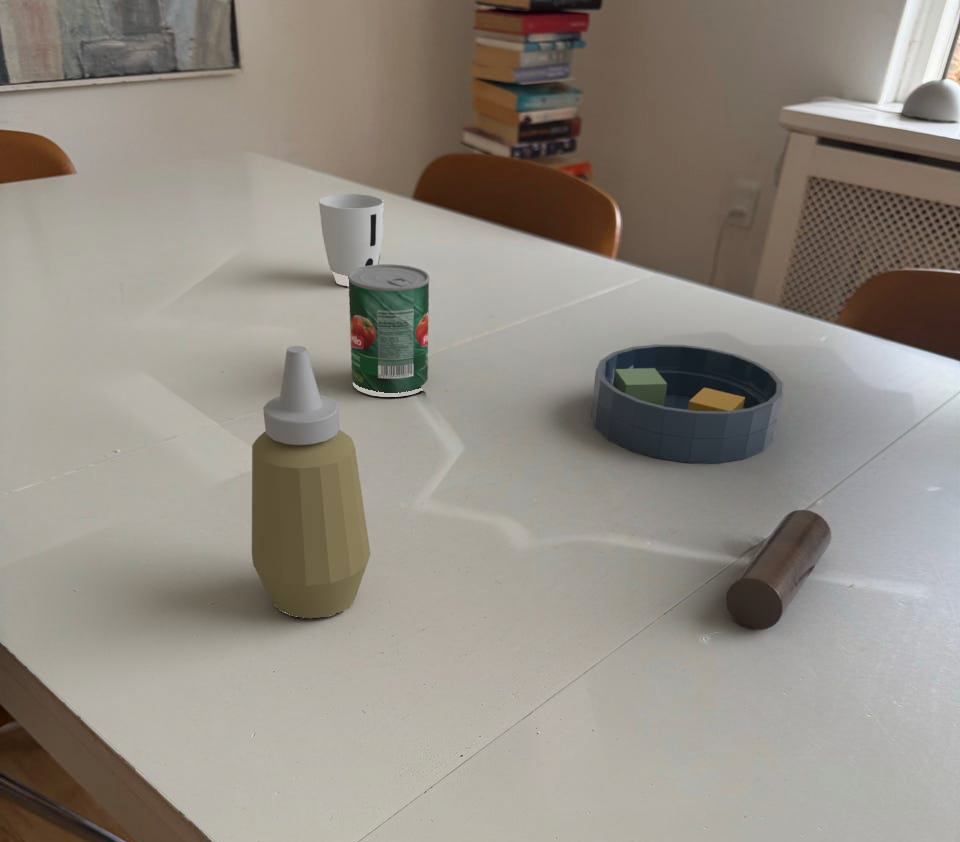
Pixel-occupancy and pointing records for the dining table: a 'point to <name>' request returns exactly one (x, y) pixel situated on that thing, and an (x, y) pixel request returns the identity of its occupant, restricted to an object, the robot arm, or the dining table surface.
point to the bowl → (673, 424)
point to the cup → (351, 230)
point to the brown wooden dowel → (778, 570)
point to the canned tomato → (389, 327)
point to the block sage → (641, 384)
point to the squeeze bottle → (307, 500)
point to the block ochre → (715, 401)
